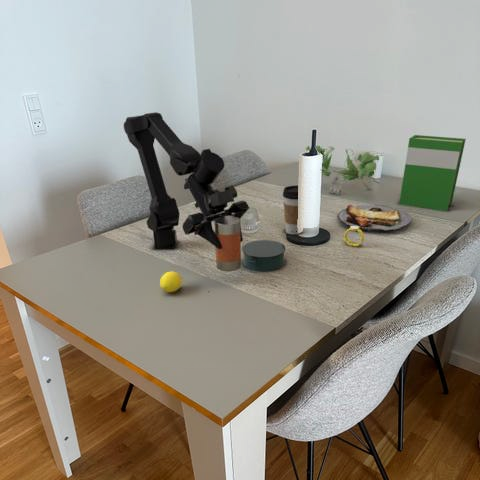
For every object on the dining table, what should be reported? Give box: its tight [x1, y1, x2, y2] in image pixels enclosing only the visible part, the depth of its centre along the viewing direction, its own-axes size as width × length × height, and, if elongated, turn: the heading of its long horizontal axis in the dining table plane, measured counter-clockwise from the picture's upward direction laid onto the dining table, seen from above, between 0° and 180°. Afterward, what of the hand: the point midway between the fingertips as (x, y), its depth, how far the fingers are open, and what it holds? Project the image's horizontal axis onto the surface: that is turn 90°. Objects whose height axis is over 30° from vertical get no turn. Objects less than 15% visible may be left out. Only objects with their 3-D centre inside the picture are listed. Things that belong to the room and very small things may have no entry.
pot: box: [241, 239, 286, 272], centre depth 137 cm, size 13×16×4 cm
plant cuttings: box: [305, 145, 381, 195], centre depth 193 cm, size 35×17×22 cm
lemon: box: [159, 270, 183, 293], centre depth 123 cm, size 7×5×5 cm
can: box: [213, 216, 242, 272], centre depth 123 cm, size 7×7×13 cm
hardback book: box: [398, 134, 467, 212], centre depth 172 cm, size 18×7×24 cm, turn 58°
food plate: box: [336, 204, 413, 232], centre depth 163 cm, size 25×23×4 cm
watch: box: [343, 226, 365, 247], centre depth 145 cm, size 6×3×6 cm, turn 57°
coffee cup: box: [282, 185, 299, 236], centre depth 154 cm, size 8×8×15 cm
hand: (231, 244), depth 122 cm, fingers closed on can, 7 cm apart
